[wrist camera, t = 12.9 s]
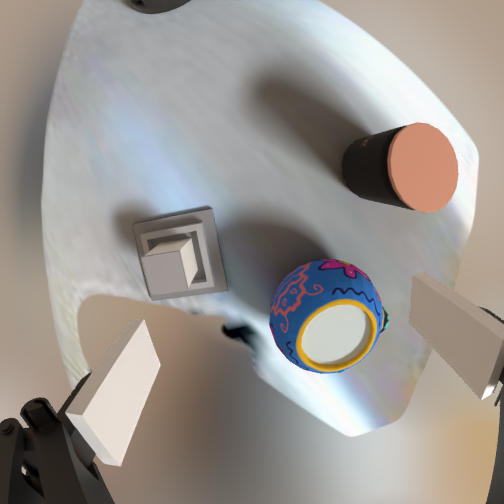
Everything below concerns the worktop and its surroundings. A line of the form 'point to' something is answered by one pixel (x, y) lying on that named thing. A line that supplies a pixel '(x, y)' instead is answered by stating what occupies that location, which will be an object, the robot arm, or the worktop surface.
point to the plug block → (170, 266)
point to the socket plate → (204, 246)
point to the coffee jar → (403, 168)
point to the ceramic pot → (326, 316)
